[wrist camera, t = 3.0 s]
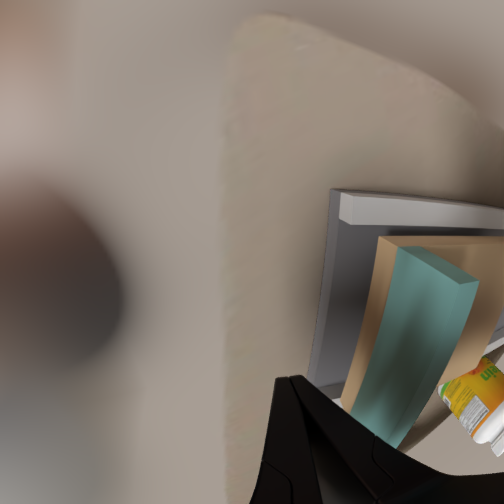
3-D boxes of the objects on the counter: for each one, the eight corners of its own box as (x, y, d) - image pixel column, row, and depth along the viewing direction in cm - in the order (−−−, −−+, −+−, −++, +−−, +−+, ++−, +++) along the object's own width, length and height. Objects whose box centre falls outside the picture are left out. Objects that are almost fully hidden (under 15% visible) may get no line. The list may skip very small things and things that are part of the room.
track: (506, 325, 17) (519, 335, 15) (304, 388, 14) (315, 416, 12) (536, 215, 14) (553, 222, 11) (330, 188, 11) (355, 197, 9)
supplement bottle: (485, 343, 17) (546, 402, 8) (459, 387, 19) (509, 447, 10) (455, 351, 16) (525, 426, 7) (426, 399, 18) (479, 473, 9)
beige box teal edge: (456, 348, 14) (500, 393, 9) (332, 384, 13) (370, 463, 8) (493, 230, 11) (558, 261, 6) (362, 227, 10) (459, 284, 5)
